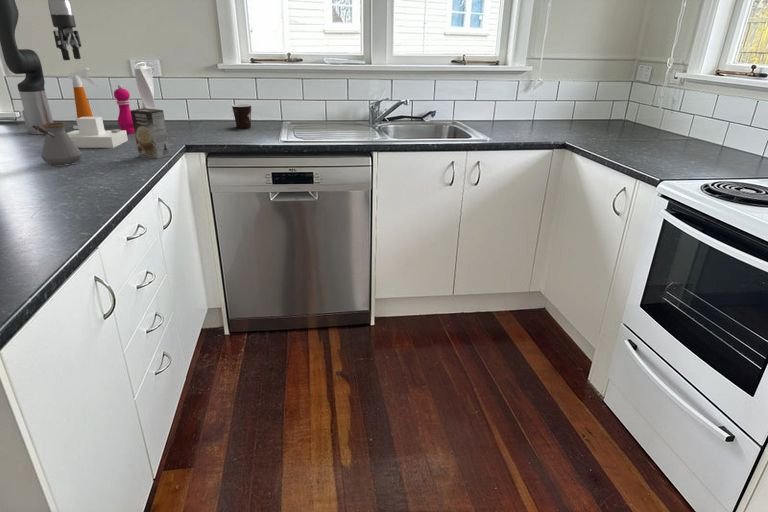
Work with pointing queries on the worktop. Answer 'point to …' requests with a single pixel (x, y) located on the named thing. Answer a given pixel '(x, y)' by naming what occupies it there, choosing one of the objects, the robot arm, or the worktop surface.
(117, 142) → the socket
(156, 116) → the coffee box
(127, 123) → the pepper mill
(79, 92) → the spray bottle
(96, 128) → the plug
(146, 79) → the skyscraper
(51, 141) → the coffee pot
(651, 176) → the worktop surface
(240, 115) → the coffee mug
